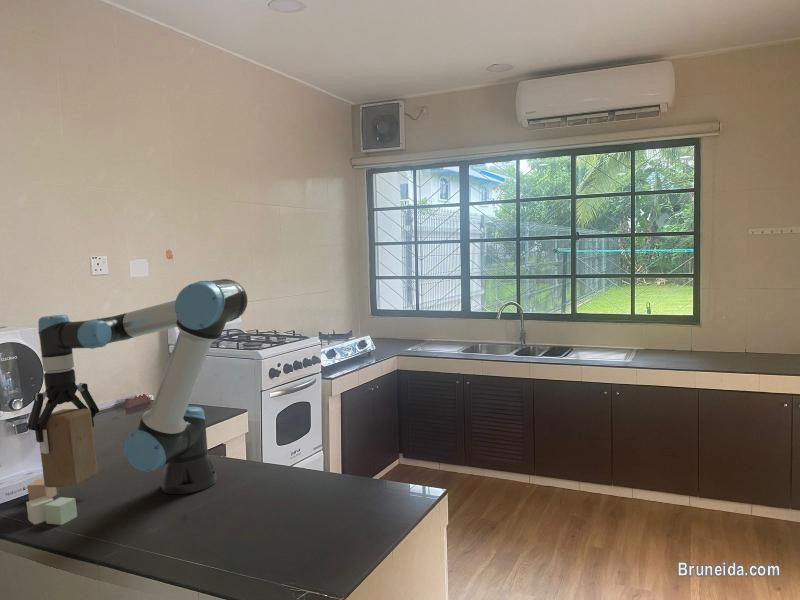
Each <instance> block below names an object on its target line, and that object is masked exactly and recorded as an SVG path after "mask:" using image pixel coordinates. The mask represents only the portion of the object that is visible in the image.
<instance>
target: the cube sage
mask: <svg viewBox="0 0 800 600" xmlns="http://www.w3.org/2000/svg"><path fill="white" fill-rule="evenodd" d="M76 502H77V500H76V498H75V497H62V496H59V497H58V498H55V500H54V501H52V502H50V503H48V504H46V505H45V514H46V521H45V522H46V524H49V525H58V526H59V525H60V526H61V525H64V524H66V523H68V522H70V521H72V520H74V519H75V518H77V517H78V510H77V503H76Z"/></svg>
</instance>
